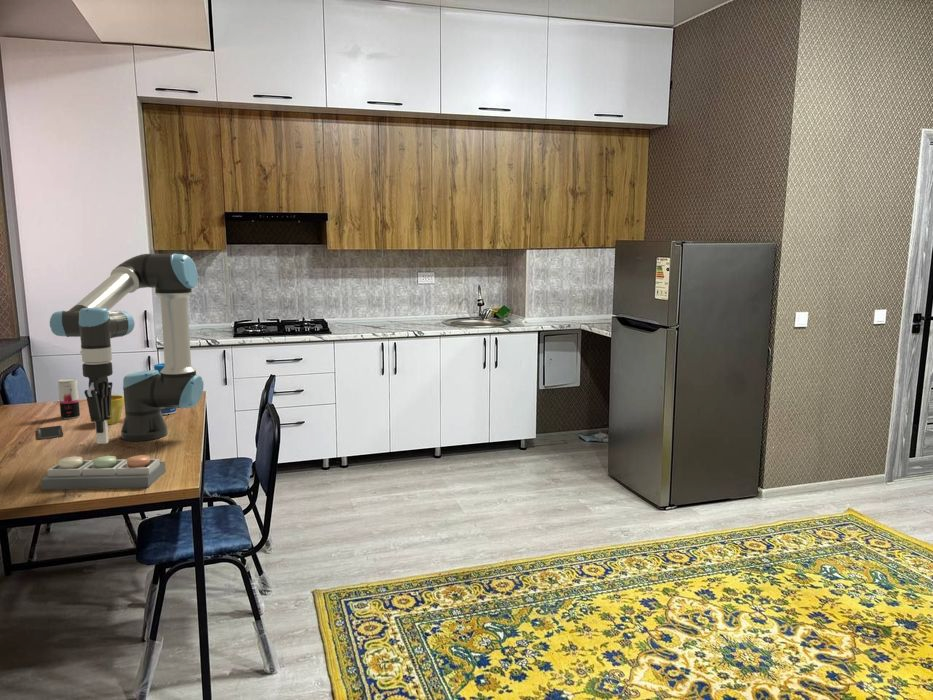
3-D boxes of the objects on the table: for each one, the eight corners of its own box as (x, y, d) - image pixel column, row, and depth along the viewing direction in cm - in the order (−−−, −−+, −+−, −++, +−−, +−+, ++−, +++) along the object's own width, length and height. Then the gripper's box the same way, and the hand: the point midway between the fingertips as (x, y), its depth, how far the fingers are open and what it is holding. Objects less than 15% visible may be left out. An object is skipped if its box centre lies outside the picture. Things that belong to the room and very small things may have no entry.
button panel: (66, 473, 209) (64, 457, 208) (165, 471, 211) (164, 456, 211) (41, 489, 195) (40, 473, 195) (148, 487, 198) (147, 471, 197)
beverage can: (72, 419, 272) (69, 381, 270) (57, 418, 273) (53, 381, 271) (83, 415, 278) (80, 378, 276) (69, 414, 279) (65, 378, 277)
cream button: (65, 462, 205) (64, 456, 204) (86, 462, 205) (86, 456, 205) (54, 469, 199) (54, 463, 198) (76, 468, 199) (76, 462, 199)
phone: (37, 437, 244) (36, 428, 256) (37, 441, 244) (37, 431, 257) (63, 434, 248) (61, 425, 261) (63, 437, 248) (61, 428, 261)
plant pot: (130, 418, 274) (128, 394, 272) (118, 425, 263) (116, 400, 262) (103, 418, 273) (101, 394, 272) (90, 425, 263) (88, 400, 262)
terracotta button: (132, 461, 206) (131, 455, 206) (153, 460, 207) (152, 455, 206) (123, 467, 200) (123, 461, 200) (145, 467, 201) (145, 461, 200)
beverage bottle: (180, 410, 288) (177, 362, 285) (172, 415, 279) (169, 366, 276) (159, 410, 287) (156, 362, 284) (151, 415, 279) (148, 366, 276)
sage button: (98, 461, 205) (98, 456, 205) (119, 461, 206) (119, 455, 206) (89, 468, 200) (89, 462, 199) (111, 468, 200) (110, 462, 200)
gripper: (93, 358, 204) (99, 436, 208) (72, 366, 191) (78, 449, 195) (120, 358, 205) (125, 436, 208) (100, 365, 192) (106, 448, 195)
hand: (102, 442), depth 201 cm, fingers closed
